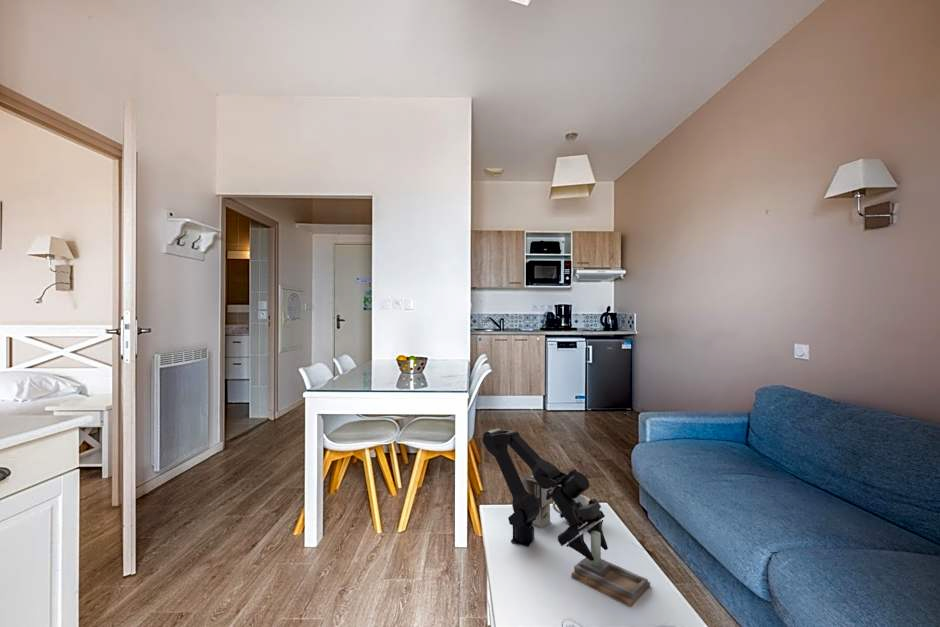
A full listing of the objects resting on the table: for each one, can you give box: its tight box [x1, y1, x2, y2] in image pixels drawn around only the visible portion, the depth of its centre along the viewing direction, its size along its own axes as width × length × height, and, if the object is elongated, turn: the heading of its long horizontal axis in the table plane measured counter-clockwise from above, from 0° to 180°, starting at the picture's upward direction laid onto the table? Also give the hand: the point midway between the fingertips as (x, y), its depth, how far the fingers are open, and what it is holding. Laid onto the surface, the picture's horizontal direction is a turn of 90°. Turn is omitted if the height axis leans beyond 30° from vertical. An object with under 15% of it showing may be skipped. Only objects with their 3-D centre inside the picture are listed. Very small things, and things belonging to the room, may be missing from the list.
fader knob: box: [581, 531, 611, 577], centre depth 127 cm, size 6×6×11 cm
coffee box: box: [520, 472, 551, 528], centre depth 160 cm, size 9×6×16 cm
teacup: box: [552, 494, 591, 516], centre depth 160 cm, size 14×11×8 cm
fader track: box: [571, 556, 651, 608], centre depth 123 cm, size 18×12×3 cm, turn 44°
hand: (600, 554), depth 126 cm, fingers open, 8 cm apart
